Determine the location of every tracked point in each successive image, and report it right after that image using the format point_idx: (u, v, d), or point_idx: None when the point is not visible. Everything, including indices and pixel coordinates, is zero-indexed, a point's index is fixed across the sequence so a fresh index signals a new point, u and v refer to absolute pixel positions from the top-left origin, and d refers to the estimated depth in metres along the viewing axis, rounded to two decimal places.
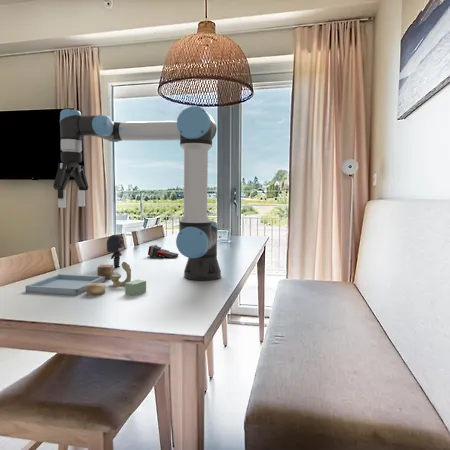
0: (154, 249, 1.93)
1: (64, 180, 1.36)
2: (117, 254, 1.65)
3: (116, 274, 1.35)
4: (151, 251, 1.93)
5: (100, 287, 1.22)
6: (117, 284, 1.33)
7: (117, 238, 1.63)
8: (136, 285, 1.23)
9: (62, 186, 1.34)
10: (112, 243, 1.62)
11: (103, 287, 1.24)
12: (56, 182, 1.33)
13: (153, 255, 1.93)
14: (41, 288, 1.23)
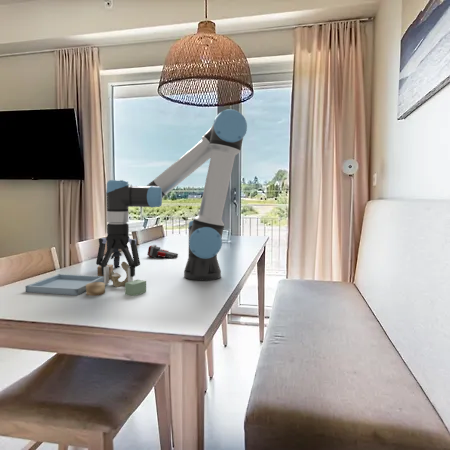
0: (154, 249, 1.92)
1: None
2: (117, 254, 1.65)
3: (116, 274, 1.35)
4: (151, 251, 1.92)
5: (102, 286, 1.23)
6: (117, 284, 1.33)
7: None
8: (136, 285, 1.23)
9: (101, 263, 1.34)
10: None
11: (104, 286, 1.24)
12: None
13: (153, 255, 1.93)
14: (41, 288, 1.23)
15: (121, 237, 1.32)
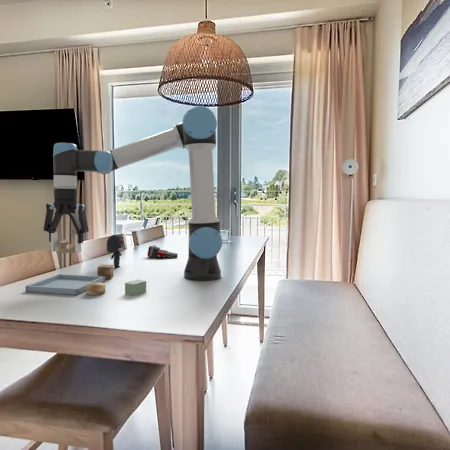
0: (154, 249, 1.92)
1: None
2: (117, 254, 1.65)
3: (64, 240, 1.31)
4: (151, 252, 1.91)
5: (104, 285, 1.24)
6: (64, 250, 1.30)
7: (117, 238, 1.63)
8: (136, 285, 1.23)
9: (48, 229, 1.30)
10: (112, 243, 1.62)
11: None
12: None
13: (153, 256, 1.92)
14: (41, 288, 1.23)
15: (68, 202, 1.28)
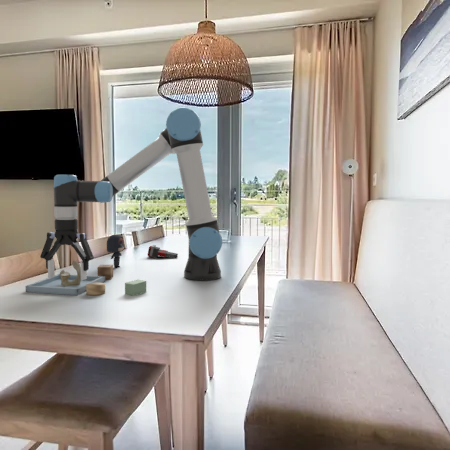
0: (154, 250, 1.91)
1: None
2: (117, 254, 1.65)
3: (66, 273, 1.32)
4: (151, 252, 1.91)
5: None
6: (66, 283, 1.31)
7: (117, 238, 1.63)
8: (136, 285, 1.23)
9: (45, 256, 1.32)
10: (112, 243, 1.62)
11: None
12: None
13: (153, 256, 1.92)
14: (41, 288, 1.23)
15: (69, 234, 1.29)
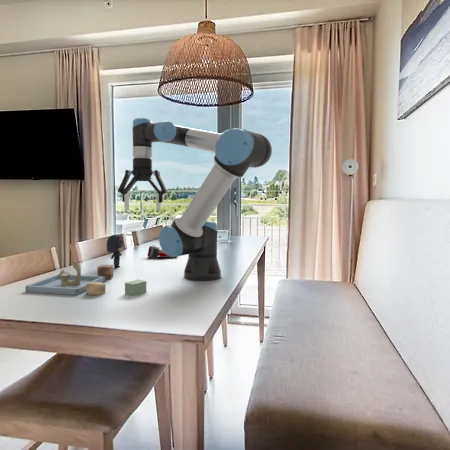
0: (154, 250, 1.91)
1: None
2: (117, 254, 1.65)
3: (66, 273, 1.32)
4: (151, 252, 1.90)
5: None
6: (66, 283, 1.31)
7: (117, 238, 1.63)
8: (135, 285, 1.23)
9: (122, 191, 1.50)
10: (112, 243, 1.62)
11: None
12: None
13: (153, 256, 1.91)
14: (41, 288, 1.23)
15: (145, 171, 1.48)
